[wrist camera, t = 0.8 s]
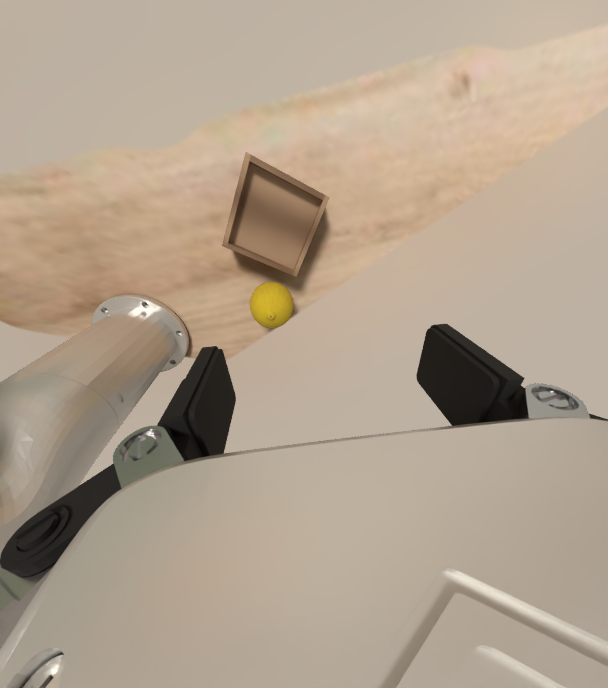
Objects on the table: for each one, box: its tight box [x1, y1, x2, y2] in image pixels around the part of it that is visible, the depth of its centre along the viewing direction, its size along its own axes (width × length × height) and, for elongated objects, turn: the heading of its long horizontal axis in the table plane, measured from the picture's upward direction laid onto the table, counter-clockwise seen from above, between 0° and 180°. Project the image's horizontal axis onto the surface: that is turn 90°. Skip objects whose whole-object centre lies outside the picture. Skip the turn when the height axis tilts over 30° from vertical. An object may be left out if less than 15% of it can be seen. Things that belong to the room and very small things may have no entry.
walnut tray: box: [222, 152, 329, 277], centre depth 27 cm, size 9×9×4 cm
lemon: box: [250, 282, 293, 328], centre depth 30 cm, size 6×6×8 cm
